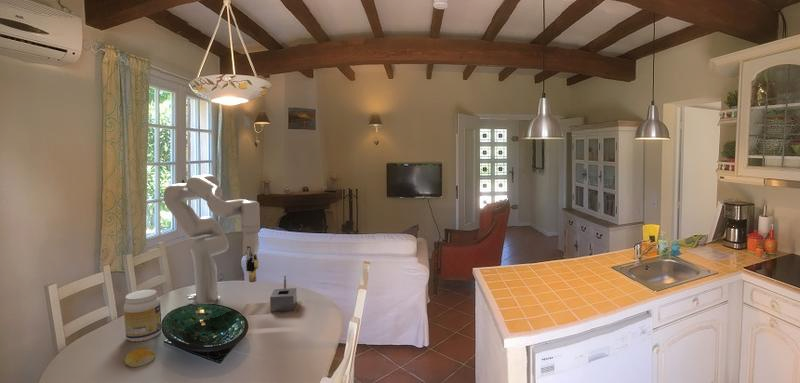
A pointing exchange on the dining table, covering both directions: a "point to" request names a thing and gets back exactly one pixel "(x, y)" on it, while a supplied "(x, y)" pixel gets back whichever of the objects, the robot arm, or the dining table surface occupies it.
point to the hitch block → (283, 300)
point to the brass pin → (252, 273)
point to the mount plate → (264, 309)
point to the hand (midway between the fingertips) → (252, 268)
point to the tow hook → (284, 281)
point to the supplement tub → (142, 315)
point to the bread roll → (139, 357)
